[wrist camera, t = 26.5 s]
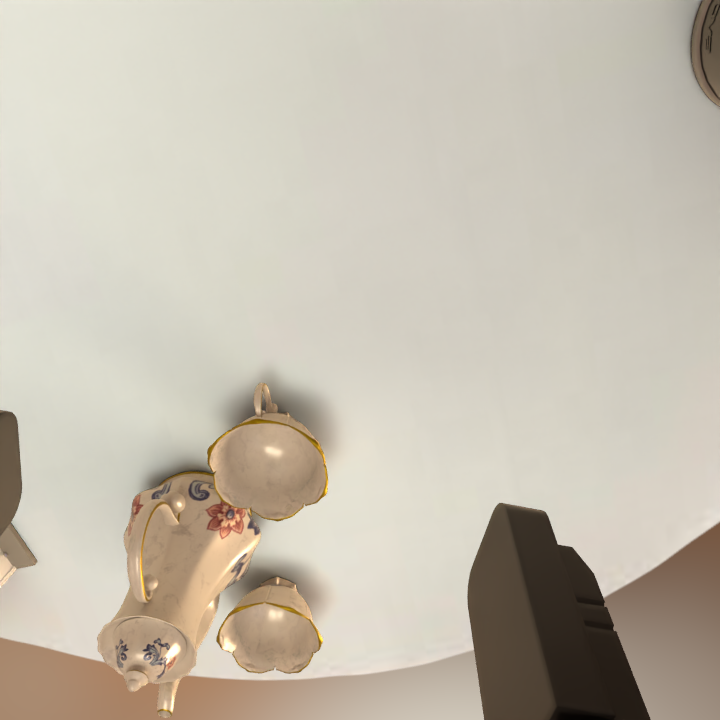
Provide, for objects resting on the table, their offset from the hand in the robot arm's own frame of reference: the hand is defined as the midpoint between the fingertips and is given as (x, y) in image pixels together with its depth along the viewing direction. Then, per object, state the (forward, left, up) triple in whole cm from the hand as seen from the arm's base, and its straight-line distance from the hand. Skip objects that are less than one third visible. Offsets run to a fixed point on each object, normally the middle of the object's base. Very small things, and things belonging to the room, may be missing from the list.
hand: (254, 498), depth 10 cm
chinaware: (+4, +30, -32) cm, 44 cm away
